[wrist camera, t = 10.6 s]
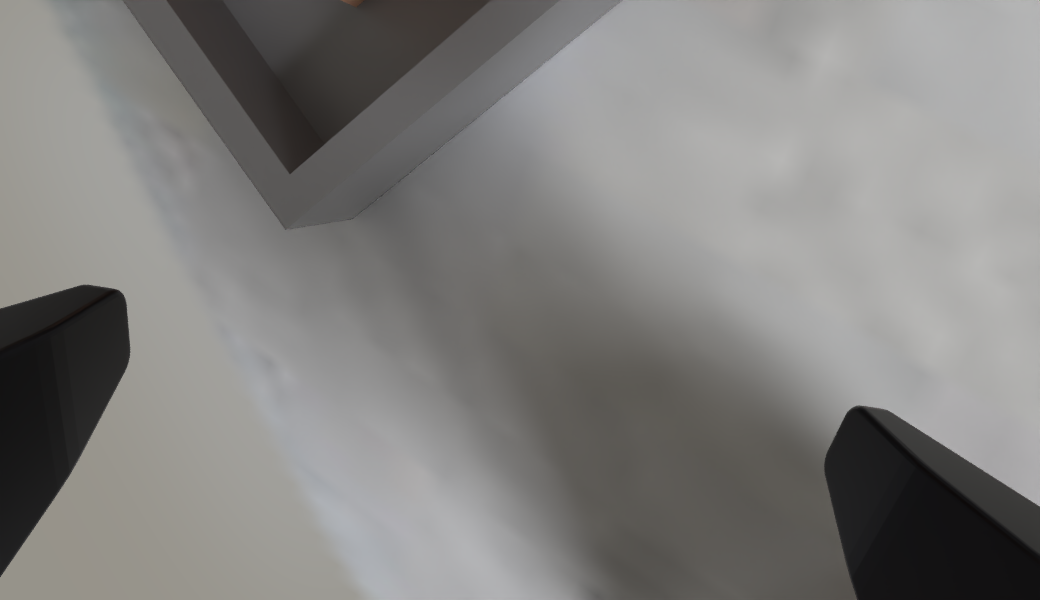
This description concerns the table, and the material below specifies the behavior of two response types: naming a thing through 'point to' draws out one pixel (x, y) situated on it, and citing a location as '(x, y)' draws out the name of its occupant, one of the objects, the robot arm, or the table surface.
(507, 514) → the table surface
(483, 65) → the box
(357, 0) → the terracotta block
